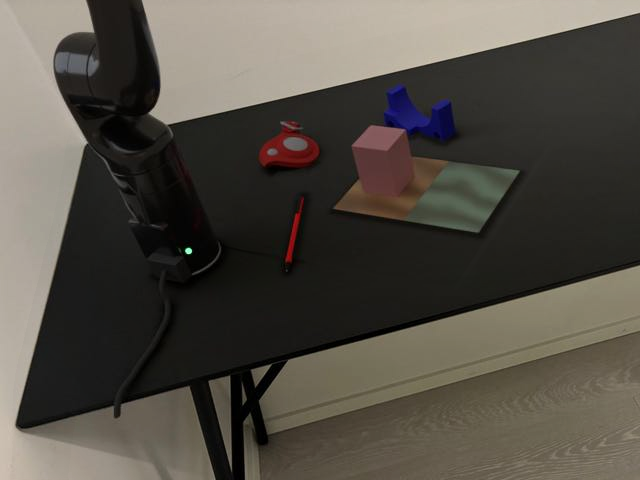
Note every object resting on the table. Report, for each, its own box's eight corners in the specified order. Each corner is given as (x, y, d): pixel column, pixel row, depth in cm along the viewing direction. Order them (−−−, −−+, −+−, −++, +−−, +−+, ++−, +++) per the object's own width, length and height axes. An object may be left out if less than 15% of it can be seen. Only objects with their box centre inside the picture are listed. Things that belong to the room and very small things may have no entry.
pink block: (397, 197, 126) (387, 150, 120) (363, 192, 128) (351, 145, 122) (415, 175, 130) (405, 129, 124) (381, 170, 132) (370, 125, 126)
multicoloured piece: (479, 235, 118) (478, 232, 117) (333, 211, 126) (332, 208, 126) (520, 173, 128) (520, 170, 127) (382, 155, 136) (382, 152, 136)
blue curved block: (386, 128, 142) (379, 95, 138) (405, 116, 144) (399, 84, 140) (437, 148, 136) (431, 114, 132) (455, 135, 138) (450, 102, 134)
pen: (306, 196, 130) (304, 190, 130) (290, 273, 117) (288, 267, 116) (300, 196, 130) (298, 190, 130) (284, 274, 117) (282, 267, 116)
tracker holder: (331, 152, 136) (273, 163, 131) (328, 174, 140) (272, 186, 135) (298, 110, 142) (241, 119, 137) (296, 132, 145) (241, 142, 140)
